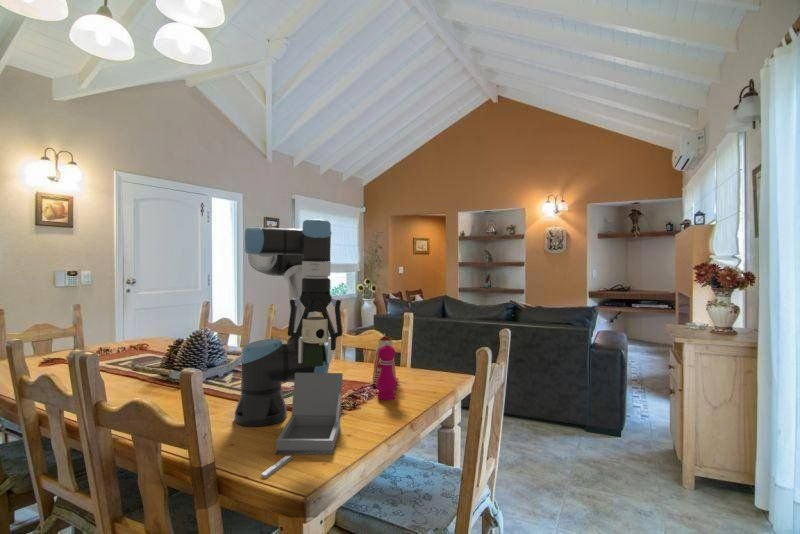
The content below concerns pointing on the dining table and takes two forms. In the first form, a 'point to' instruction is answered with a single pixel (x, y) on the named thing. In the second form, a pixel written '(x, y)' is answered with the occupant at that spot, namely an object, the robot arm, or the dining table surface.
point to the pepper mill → (386, 373)
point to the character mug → (315, 340)
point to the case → (313, 415)
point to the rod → (276, 466)
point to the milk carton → (377, 359)
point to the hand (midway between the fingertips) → (315, 361)
